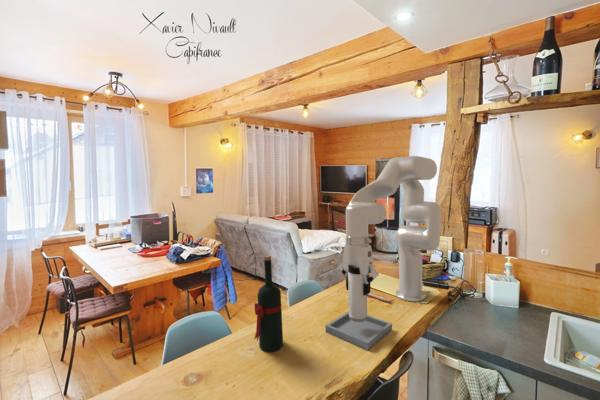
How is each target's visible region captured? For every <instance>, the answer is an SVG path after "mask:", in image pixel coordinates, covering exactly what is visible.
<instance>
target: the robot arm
mask: <svg viewBox="0 0 600 400" xmlns="http://www.w3.org/2000/svg"><path fill="white" fill-rule="evenodd" d="M437 171H438V167H437V163H436V162H435V160H433V159H432V158H428V157H423V156H418V155H409V156H408V155H407V156H395V157H392V158H390V159H389V160H388V161H387V163H386V164H385V166H384V167H383V169H382V170H381V172H380V174H379V175H378V176H377V178H376V179H375V180H374V181H372V182H370V183H368V184H367V185H366V186H363V187H362V188H360V189H359V190H358V191H356V193H355V194H354V195H353V197H352V198H351V200H350V201H349V203H348V205H347V206H346V207H345V244H344V248H343V252H342V255H343V257H342V262H341V263H339V265H338V269H340V271H341V273H342V275H343V277H344V279H345V286H346V287H345V288H346V291H349V288H348V270H349V269H348V265H350V266H353V267H355V268H358V267H359V269H360V274H361V275H362V276H363V279H364V282H365V283H364V284H363V295H365V296H366V295H367V296H368V295H369V294H370V293H371V283H372V282H373V281H374V280H375V279H376V278H377V277H379V275H380V274H379V272H378V271H377V270H376V268H375V265H374V263H375V262H374V254H373V249H372V246H371V245H372V244H371V243H372V239H371V238H370V237H369V236H370V235H369V225H377V224H381V223H383V222H384V221H385V220H386V218H387V209H386V207H385V205H383V204H382V203H379V202H374V201H376V200H380V199H385V198H387V197H390V196H392V195H394V194H396V192H397V191H398V188H399V186H401V185H402V190H403V194H402V197H403V199H402V209H401V217H402V219H403V220H404V221H405V222H408V223H413V224H414V223H415V224H424V225H425V226H419V225H411V224H409V225H408V224H406V225H402V226H400V227H399V228H398V229H397V231H396V241H397V245H398V278H399V279H398V282H399V283H398V289H396V290H395V297H396V298H398V299H400V300H403V301H405V302H406V301H407V302H421V301H424V300H426V298H427V295H426V293H425V292H424V291H423V287H424V285H425V284H424V282H423V257H422V254H421V252H420V250H423V251H429V252H431V251H432V252H433V251H436V250H437V249H438V248H439V246H440V242H441V229H442V228H441V227H442V217H443V216H442V209H441V206H440V204H439V203H438V202H435V201H425V199H424V198H425V190H424V189H425V188H424V186H423V185H422V183H421V182H420V181H427V180H428V181H430V180H433V179H434V178H435V177H436V175H437V173H438V172H437ZM370 274H372V275H370ZM366 276H367V277H366Z"/></svg>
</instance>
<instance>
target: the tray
mask: <svg viewBox="0 0 600 400" xmlns="http://www.w3.org/2000/svg"><path fill="white" fill-rule="evenodd" d="M324 327H325V333H327V334H328V335H332V336H333V337H334V338H335V337H336V338H338V339H340V340H343V341H345V342H348V343H350V344H351V345H354V346H356V347H359V348H360V349H363V350H364V351H367V352H368V351H369V350H370V349H372V348H373V347H374V346H376V345H377V344H378V343H379V342H380V341H381V340H382V339H384V338H385V337H387V335H389V333H391V332H392V331H393V323H391V322H389V321H386V320H383V319H379V318H376V317H374V316H372V315H368V314H367V319H366V320H365V321H363V322H355V321H352V320H351V319H350V318H349V310H348V311H347V312H344V313H343V314H341V315H340V316H338V317H337V318H335V319H334V320H332V321H330V322H329V323H327V324H325V326H324Z"/></svg>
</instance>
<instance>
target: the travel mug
mask: <svg viewBox="0 0 600 400" xmlns="http://www.w3.org/2000/svg"><path fill="white" fill-rule="evenodd" d="M348 269H349V270H348V288H349V290H348V311H349V318H350V319H351V320H352V321H355V322H363V321H365V320H366V319H367V315H368V294H367V295H366V296H365V295H363V284H364V283H365V282H364V279H363V276H362V275H361V274H360V269H359V267H358V268H355V267H353V266H350V265H348ZM366 277H367V276H366Z"/></svg>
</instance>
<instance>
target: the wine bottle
mask: <svg viewBox="0 0 600 400" xmlns="http://www.w3.org/2000/svg"><path fill="white" fill-rule="evenodd" d="M271 258H272V255H268V254H267V255H264V256H263V259H264V261H263V262H264V278H265V279H264V280H265V281H264V283H265V284H263V285H261V287H260V288H259V289H258V292H257V303H256V302H255V303H254V314H255V316H256V331H255V335H254V339H253V340H255V339H256V342H258V341H259V342H258V343H259V346H258V347H259V349H260V351H263V352H265V353H274V352H277V351H280V350H281V349H282V348H283V347H284V339H283V338H284V335H283V316H282V315H283V314H282V294H281V293H282V292H281V290H280V288H279V287H278V286H277V285H276V284H274V283H273V275H272V274H273V273H272V270H273V269H272V259H271Z"/></svg>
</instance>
